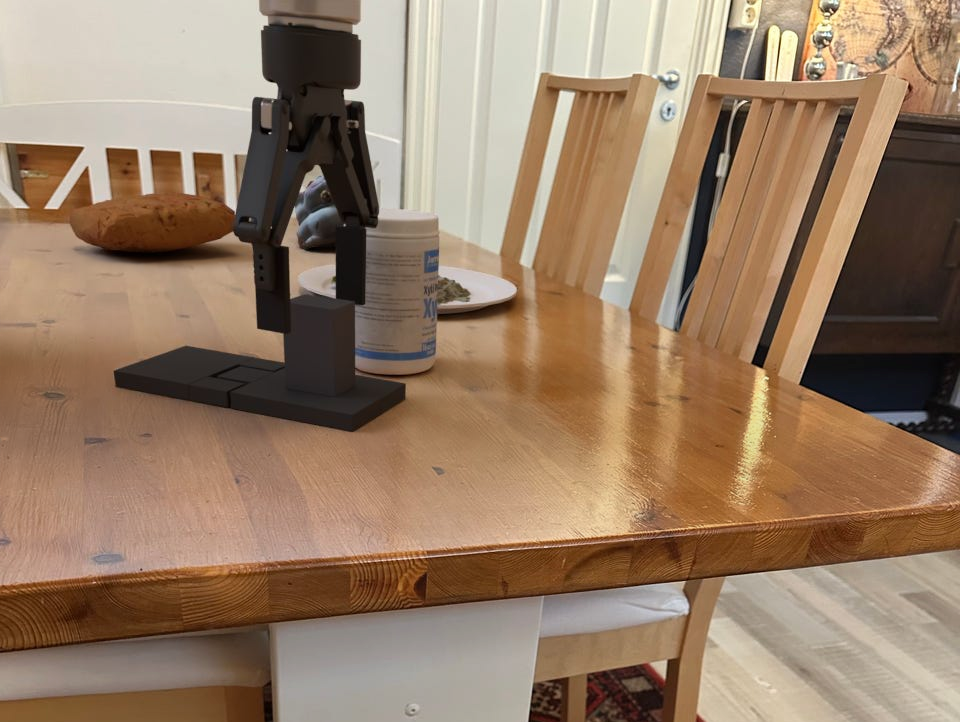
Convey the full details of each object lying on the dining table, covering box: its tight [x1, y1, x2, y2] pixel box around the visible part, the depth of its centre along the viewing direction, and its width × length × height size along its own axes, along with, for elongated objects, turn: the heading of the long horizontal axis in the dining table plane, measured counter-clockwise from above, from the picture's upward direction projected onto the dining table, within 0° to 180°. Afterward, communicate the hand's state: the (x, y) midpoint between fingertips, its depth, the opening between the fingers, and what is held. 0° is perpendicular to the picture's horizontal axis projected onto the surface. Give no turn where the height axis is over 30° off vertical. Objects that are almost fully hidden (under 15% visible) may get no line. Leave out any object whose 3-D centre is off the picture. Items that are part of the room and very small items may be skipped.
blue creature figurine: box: [294, 174, 367, 251], centre depth 157 cm, size 15×12×14 cm
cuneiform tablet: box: [69, 192, 236, 254], centre depth 143 cm, size 22×17×8 cm
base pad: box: [113, 345, 285, 409], centre depth 88 cm, size 12×11×2 cm
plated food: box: [297, 263, 518, 315], centre depth 128 cm, size 30×30×3 cm
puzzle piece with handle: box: [217, 293, 407, 432], centre depth 83 cm, size 16×11×9 cm
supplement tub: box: [344, 207, 440, 376], centre depth 94 cm, size 10×10×15 cm
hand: (314, 316), depth 81 cm, fingers open, 13 cm apart
